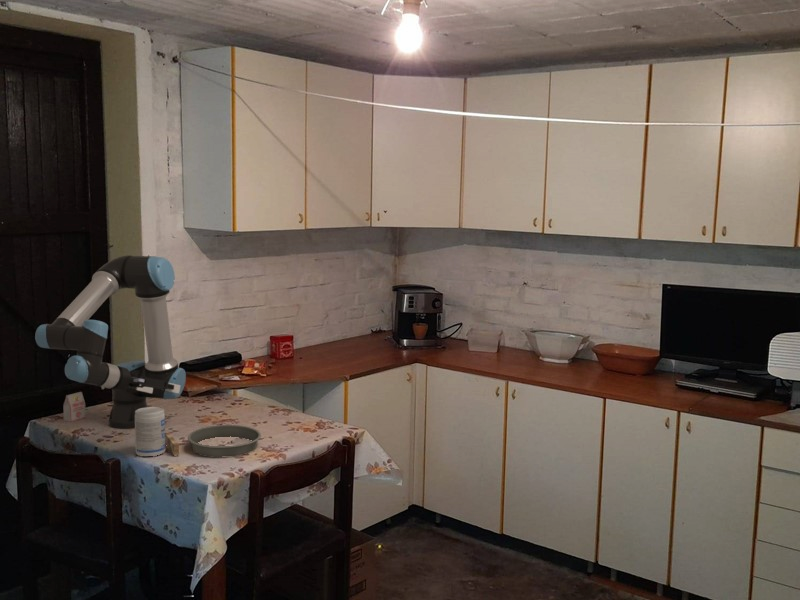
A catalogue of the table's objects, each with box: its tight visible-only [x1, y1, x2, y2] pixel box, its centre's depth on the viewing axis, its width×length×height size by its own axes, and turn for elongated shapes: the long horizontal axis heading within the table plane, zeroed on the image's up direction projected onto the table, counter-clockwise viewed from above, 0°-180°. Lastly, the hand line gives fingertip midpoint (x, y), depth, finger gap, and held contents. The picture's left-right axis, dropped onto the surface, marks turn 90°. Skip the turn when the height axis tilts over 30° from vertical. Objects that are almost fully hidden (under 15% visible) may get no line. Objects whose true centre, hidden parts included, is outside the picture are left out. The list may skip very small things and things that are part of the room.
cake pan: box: [187, 424, 262, 458], centre depth 266 cm, size 25×25×4 cm
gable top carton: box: [62, 391, 87, 423], centre depth 293 cm, size 4×7×10 cm, turn 151°
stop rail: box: [165, 432, 180, 457], centre depth 261 cm, size 14×2×4 cm, turn 29°
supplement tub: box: [134, 406, 166, 457], centre depth 257 cm, size 10×10×15 cm
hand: (165, 389), depth 262 cm, fingers open, 13 cm apart
